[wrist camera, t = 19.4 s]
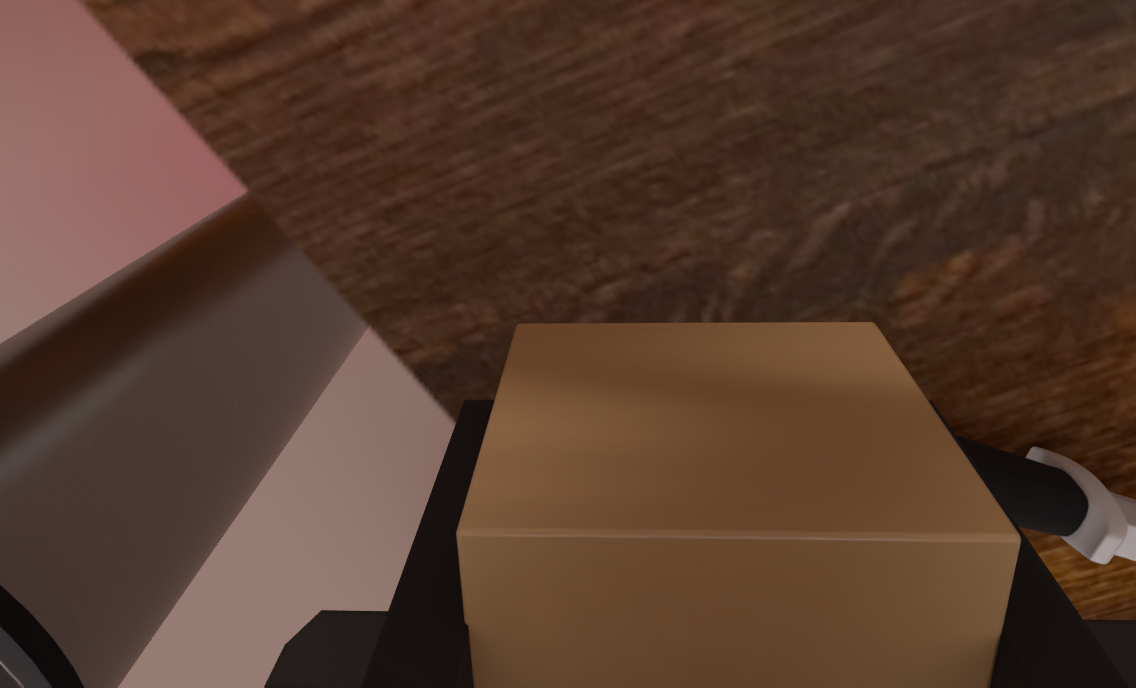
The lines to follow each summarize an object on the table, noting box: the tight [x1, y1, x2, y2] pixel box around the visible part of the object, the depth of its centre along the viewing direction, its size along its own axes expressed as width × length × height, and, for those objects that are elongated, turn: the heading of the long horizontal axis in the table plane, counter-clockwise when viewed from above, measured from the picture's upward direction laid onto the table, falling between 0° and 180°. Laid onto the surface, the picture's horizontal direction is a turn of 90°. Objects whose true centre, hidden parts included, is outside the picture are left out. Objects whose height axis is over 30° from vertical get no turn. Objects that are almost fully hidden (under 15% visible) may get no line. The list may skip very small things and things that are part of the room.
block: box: [456, 322, 1021, 688], centre depth 10 cm, size 5×5×5 cm
